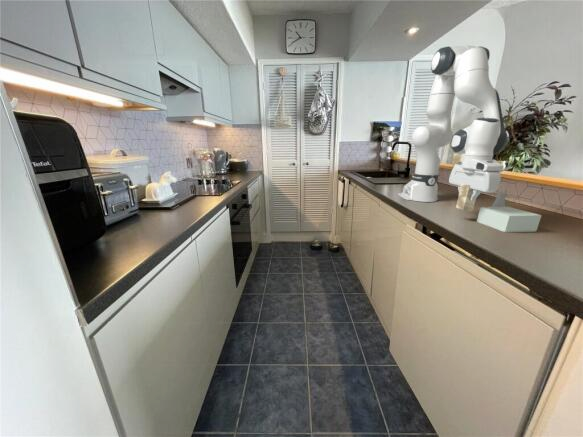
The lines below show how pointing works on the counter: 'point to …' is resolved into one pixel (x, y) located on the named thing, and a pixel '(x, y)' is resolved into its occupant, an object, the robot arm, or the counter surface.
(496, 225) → the sage step
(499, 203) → the flask
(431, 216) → the counter surface
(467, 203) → the birch block
